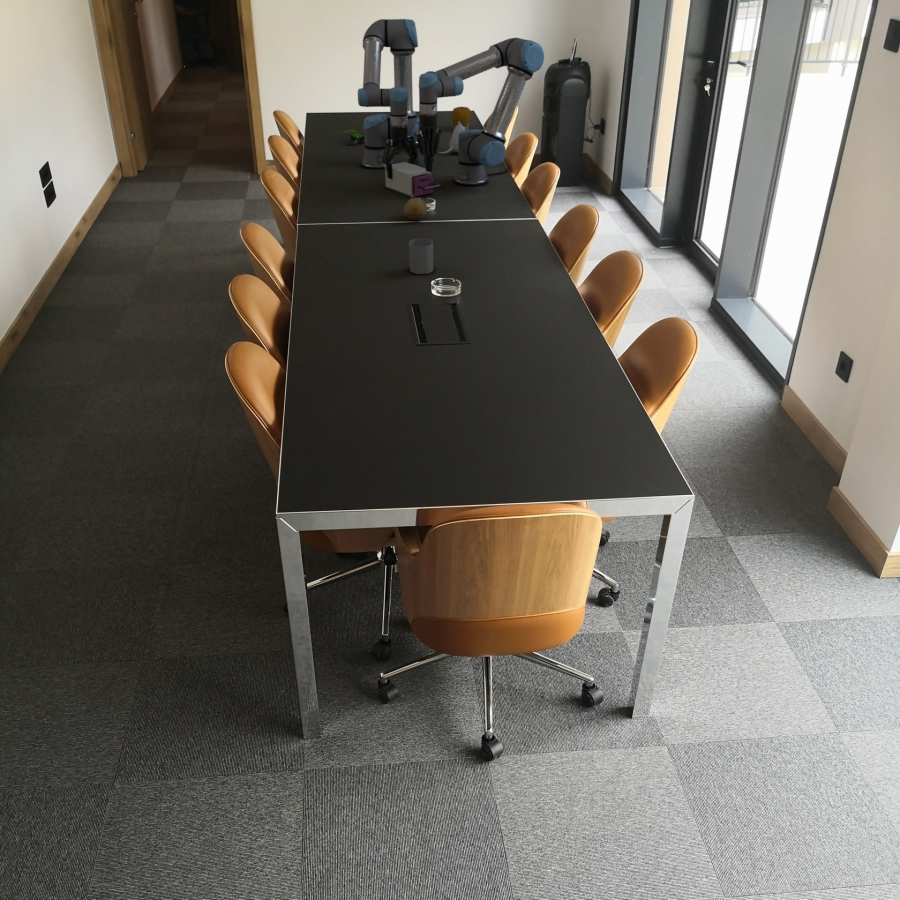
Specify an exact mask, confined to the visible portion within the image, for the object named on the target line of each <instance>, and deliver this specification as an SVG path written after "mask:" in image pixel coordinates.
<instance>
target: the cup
mask: <svg viewBox="0 0 900 900" xmlns="http://www.w3.org/2000/svg"><path fill="white" fill-rule="evenodd" d="M408 253H409V272H411V273H412V274H416V275H426V274H430V273H432V272H434V241H433V240H431V239H428V238H422V237H421V238H420V237H419V238H414V239H411V240H410V241H409V242H408Z"/></svg>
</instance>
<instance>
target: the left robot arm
mask: <svg viewBox="0 0 900 900" xmlns="http://www.w3.org/2000/svg"><path fill="white" fill-rule="evenodd" d="M417 32H418V31H417V26H416V22H415V20H414V19H409V18H391V19H390V18H387V19H385V18H380V19H378V20H376V21H374V22H373V23H371V24H370V25H369V27H368V28H367V29H366V30H365V32H364V35H363V38H362V49H363V50H364V53H363V54H364V55H363V56H364V57H363V59H364V60H363V77H362V81H363V82H362V87H361V88H358V89H357V105H358V106H359V107H362V108H363V107H364V108H389V111H390V112H389V113H390V115H389V116H388V114H387V113H377V114H371V115H368V116H366V117H365V118H364V119H363V134H364V140H365V141H364V151H363V155H362V159H361V166H362V167H363V168H366V169H371V170H381V169H385V166H386V171H387V177H388V178H390V179H392V164H394V161H393V158H394V156H395V155H398V154H400V151H398V149H401V148H402V149H404V151H405V152H406V154H407V155H408V157H409V158H408V163H410V164H413V165H416V164H415V163H416V162H415V160H417V158H418V157H419V154H418V149H417V147H416V142H418V140H417V137H416V135H415V133H418V132H419V127H420V119H419V117H417V113H416V112H415V111H414V101H413V100H414V97H413V96H414V95H413V94H414V93H413V91H414V90H413V89H414V88H413V55H414V54H415V52H416V48H419V40H418V33H417ZM384 48H389V52H390V53H391V55H392V56H393V83H394V84H393V87H391V88H383V87H381V69H382V68H381V67H382V52H383V50H384Z"/></svg>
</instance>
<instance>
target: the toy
mask: <svg viewBox="0 0 900 900" xmlns="http://www.w3.org/2000/svg"><path fill="white" fill-rule="evenodd" d="M464 130H470V129H469V126H468V124H467V128H466V127H463V126H462V124H461V123H460V122H459V121H458V124H457V126H456V127H455V128H453V132H452V133H451V137H450V138H451V139H450V140H449V145H448V146H449V149H447V150H445V151H437V154H438V153H439V154H444V155H445V154H448V153H450V154H454V152H455V153H457V155H459V141H458V139H459V133H460V132H461V131H464Z"/></svg>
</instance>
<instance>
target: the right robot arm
mask: <svg viewBox="0 0 900 900" xmlns="http://www.w3.org/2000/svg"><path fill="white" fill-rule="evenodd" d="M544 61H545V52H544V49H543V46H542V45H541V44H540V43H538V42H536V41H534V40H531V39H526V38H525V39H524V38H520V37H511V38H507V39H504V40H502V41H499V42H496V43H495V44H492V45H490V46H489V47H488V49H486V50H484V51H482V52H479V53H477V54H474V55H472V56H470V57H467V58H465V59H463V60H460V61H457V62H455V63H453V64H451V65H448V66H446V67H443V68H440V69H437V70H436V71H433V70H428V71H426V72H425V73H421V74H420V75H419V77H418V99H419V100H418V102H419V103H418V110H419V111H418V112H419V117H418V118H419V130H418V133H415V135H416V137H417V144H418V149H419V154H420V155H421V156H423V158H424V159H423V160H424V161H423V162H424V164H425V169H426V171H428V172H431V173H432V172H433V164H434V157H436V154H438V152H439V151H438V150H439V144H440V138H441V134H442V132H443V130H442V129H440V128H438V114H437V113H438V99H441V98H451V97H458V96H461V95H462V94H463V93H464V88H465V87H464V86H465V85H464V81H465V80H467V79H470V78H473V77H475V76H477V75H480V74H482V73H484V72H487V71H489V70H491V69H500V68H503V67H506V69H507V76H506V77H505V81H504V83H503V86H502V88H501V90H500V93H499V95H498V98H497V100H496V103H495V106H494V109H493V111H492V114H491V115H490V118H489V121H488V122H487V123H488V124H487V126H486V127H485V128H483V129H477V128H476V129H469V130H464V131H461V132H460V133H459V139H458V141H459V154H458V166H457V167H456V168H457V169H456V171H455V175H454V184H457V185H460V186H465V187H478V186H482V185H483V186H484V185H485V184H487V183H488V176H494V175H502V174H506V173H507V172H508V171H509V170H510V169H509V168H510V167H507V168H506V170H504V171H500V172H492V173H487V171H486V168H485V167H488V168H496V167H498V166H499V165H501V164H502V163H503V162H504V160H505V158H506V156H507V150H506V146H505V145H506V142H507V138H506V134H507V130H508V128H509V125H510V124H511V120H512V119H513V116H514V113H515V111H516V109H517V107H518V104H519V101H520V99H521V96H522V94H523V91H524V88H525V86H526V84H527V82H528V81H530V80H531V79H533V76H534V74H535V73H536V72H538V71H540V70H541V68H542V67H543V65H544Z"/></svg>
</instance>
